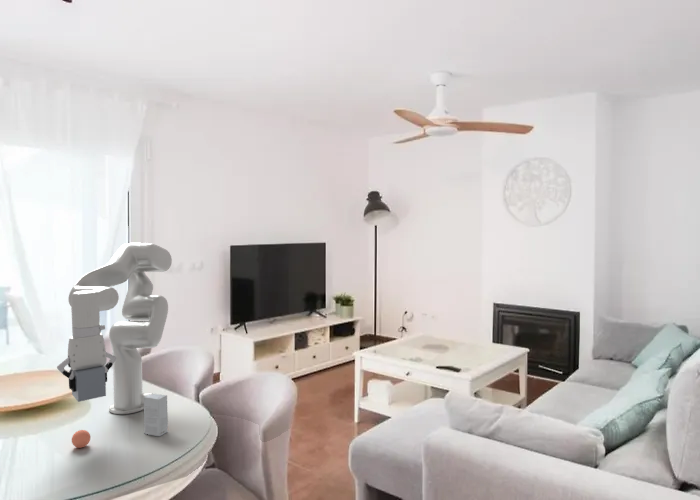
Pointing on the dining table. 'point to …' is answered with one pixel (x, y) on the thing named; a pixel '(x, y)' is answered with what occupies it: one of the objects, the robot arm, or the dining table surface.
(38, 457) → the dining table surface
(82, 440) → the ball
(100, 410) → the dining table surface
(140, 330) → the robot arm
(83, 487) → the dining table surface
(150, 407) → the skincare box
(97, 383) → the grey matte cube
